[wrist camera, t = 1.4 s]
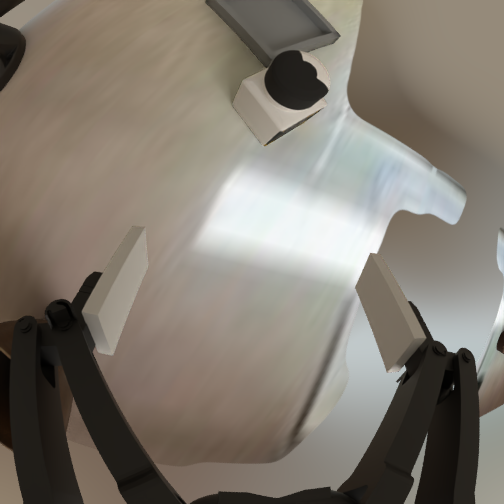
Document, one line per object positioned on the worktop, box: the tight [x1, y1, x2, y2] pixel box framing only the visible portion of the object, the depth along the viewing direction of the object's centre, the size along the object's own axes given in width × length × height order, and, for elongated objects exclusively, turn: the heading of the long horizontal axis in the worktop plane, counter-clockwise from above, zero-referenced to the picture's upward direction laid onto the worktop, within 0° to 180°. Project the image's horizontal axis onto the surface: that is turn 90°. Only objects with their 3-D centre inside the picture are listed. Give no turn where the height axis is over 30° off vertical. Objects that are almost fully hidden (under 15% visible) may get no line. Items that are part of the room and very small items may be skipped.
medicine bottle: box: [232, 50, 330, 146], centre depth 27 cm, size 7×7×12 cm
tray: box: [206, 0, 340, 68], centre depth 30 cm, size 16×14×2 cm
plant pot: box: [0, 319, 73, 451], centre depth 22 cm, size 15×15×16 cm
